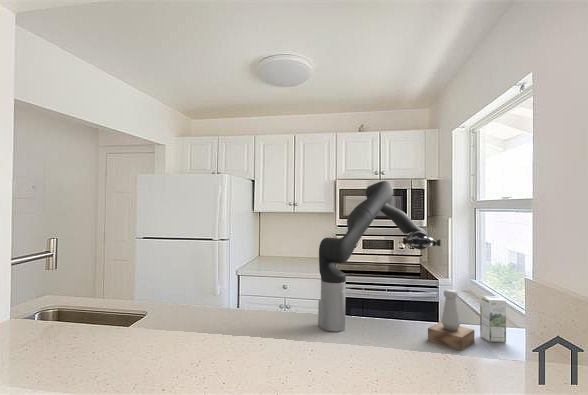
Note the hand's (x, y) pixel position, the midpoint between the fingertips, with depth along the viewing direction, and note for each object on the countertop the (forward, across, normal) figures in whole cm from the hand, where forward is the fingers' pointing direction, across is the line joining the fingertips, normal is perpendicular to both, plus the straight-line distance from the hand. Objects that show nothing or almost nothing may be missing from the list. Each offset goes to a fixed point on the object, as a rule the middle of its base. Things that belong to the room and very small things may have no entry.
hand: (422, 242), depth 124 cm
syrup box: (+5, +22, +32) cm, 40 cm away
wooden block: (+12, +8, +32) cm, 35 cm away
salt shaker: (+12, +8, +28) cm, 32 cm away
